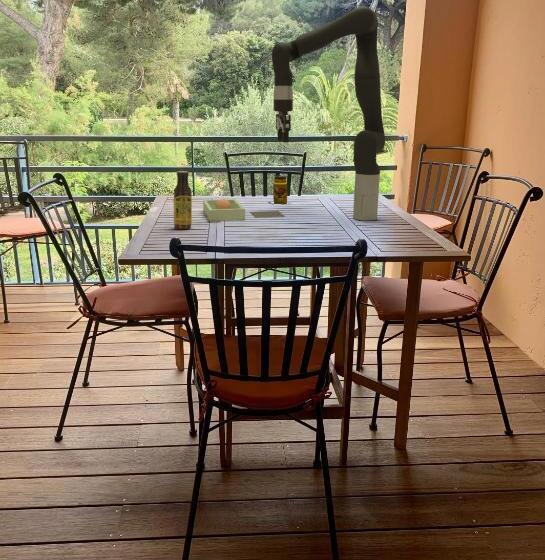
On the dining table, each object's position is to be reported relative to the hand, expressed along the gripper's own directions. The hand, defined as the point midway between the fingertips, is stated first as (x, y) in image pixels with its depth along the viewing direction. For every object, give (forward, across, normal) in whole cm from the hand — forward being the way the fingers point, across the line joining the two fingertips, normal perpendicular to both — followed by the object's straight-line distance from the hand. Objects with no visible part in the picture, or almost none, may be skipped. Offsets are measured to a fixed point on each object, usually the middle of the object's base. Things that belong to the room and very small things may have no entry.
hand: (283, 141), depth 227 cm
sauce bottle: (+28, -23, +42) cm, 56 cm away
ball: (+27, -4, +25) cm, 37 cm away
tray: (+28, -4, +25) cm, 37 cm away
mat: (+28, -6, +8) cm, 30 cm away
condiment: (+28, +18, -3) cm, 34 cm away
